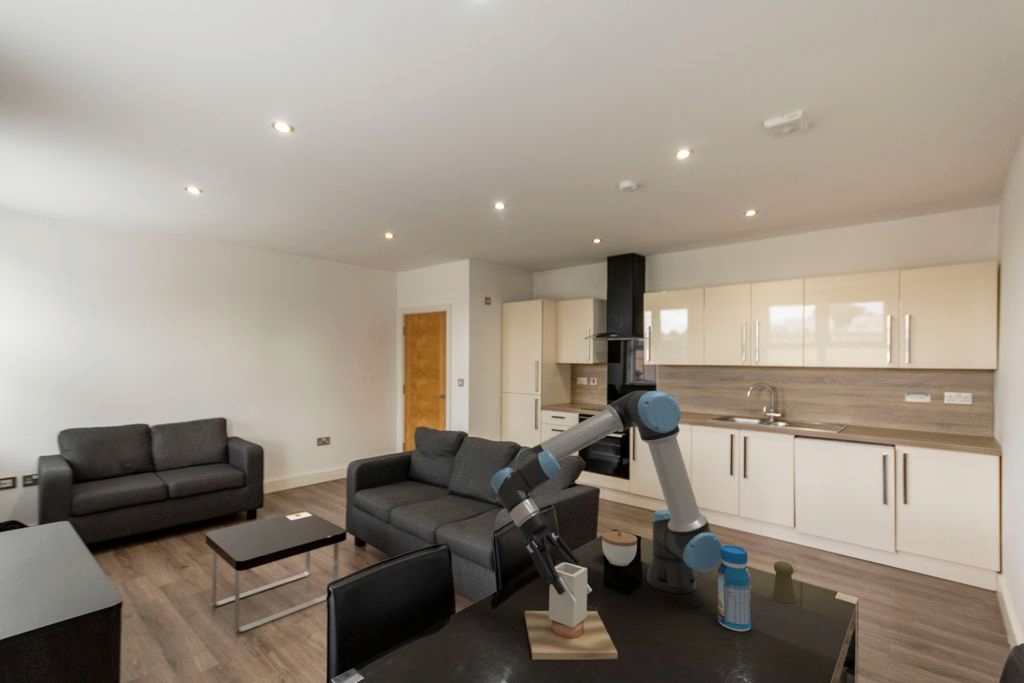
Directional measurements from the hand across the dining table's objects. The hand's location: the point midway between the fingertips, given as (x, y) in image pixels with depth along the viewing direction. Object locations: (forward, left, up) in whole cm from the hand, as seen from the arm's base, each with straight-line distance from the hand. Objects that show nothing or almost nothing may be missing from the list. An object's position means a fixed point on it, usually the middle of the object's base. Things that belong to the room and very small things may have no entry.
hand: (580, 599), depth 118 cm
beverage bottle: (-8, +44, -10) cm, 46 cm away
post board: (-2, -3, -10) cm, 11 cm away
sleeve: (-2, -3, -6) cm, 7 cm away
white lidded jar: (-52, +25, -10) cm, 59 cm away
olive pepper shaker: (-23, +68, -10) cm, 73 cm away
